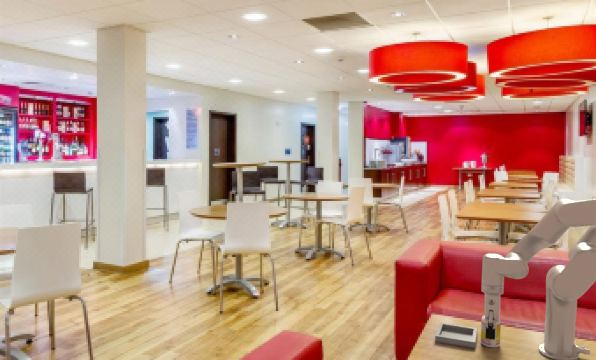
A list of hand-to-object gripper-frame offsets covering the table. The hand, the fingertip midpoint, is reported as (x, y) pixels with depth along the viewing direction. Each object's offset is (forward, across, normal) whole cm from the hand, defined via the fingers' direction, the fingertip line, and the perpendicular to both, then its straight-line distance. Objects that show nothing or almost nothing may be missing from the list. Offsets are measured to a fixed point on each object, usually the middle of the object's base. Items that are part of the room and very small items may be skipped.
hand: (490, 334), depth 178 cm
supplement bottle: (+4, 0, 0) cm, 4 cm away
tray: (+4, 0, +12) cm, 13 cm away
